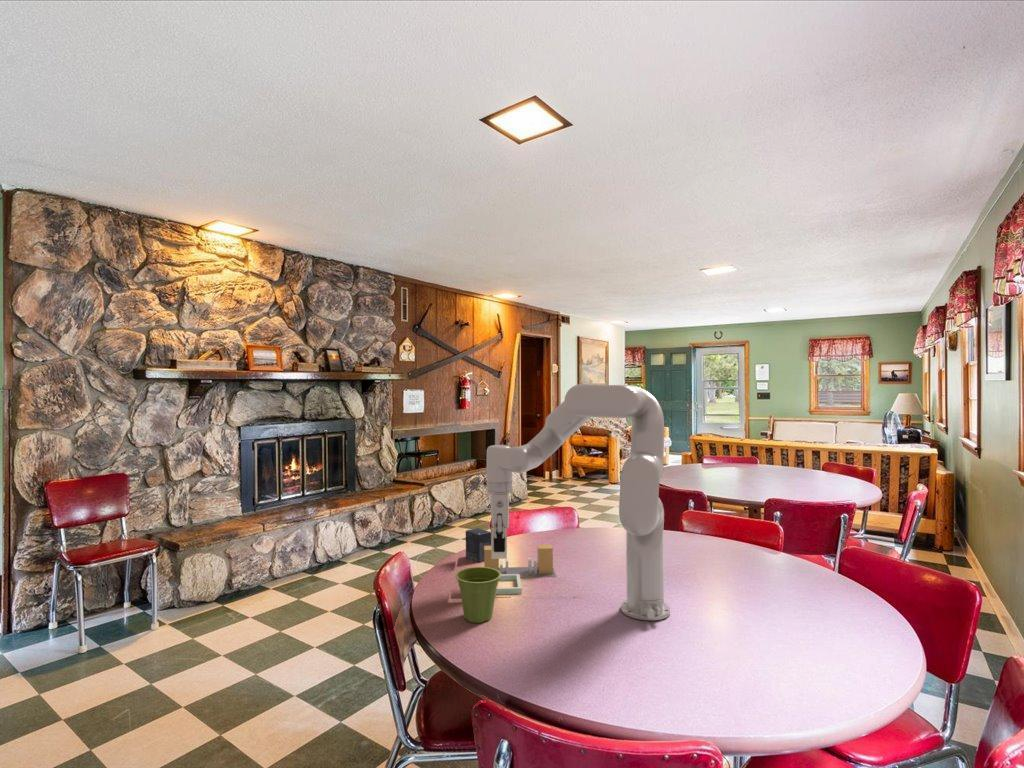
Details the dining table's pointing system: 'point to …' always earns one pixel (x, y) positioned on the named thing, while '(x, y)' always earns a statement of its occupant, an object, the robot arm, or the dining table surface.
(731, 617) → the dining table surface
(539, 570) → the fuse block
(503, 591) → the tray
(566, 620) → the dining table surface
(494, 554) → the white block red top
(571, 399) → the robot arm
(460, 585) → the plant pot
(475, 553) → the box
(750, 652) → the dining table surface
